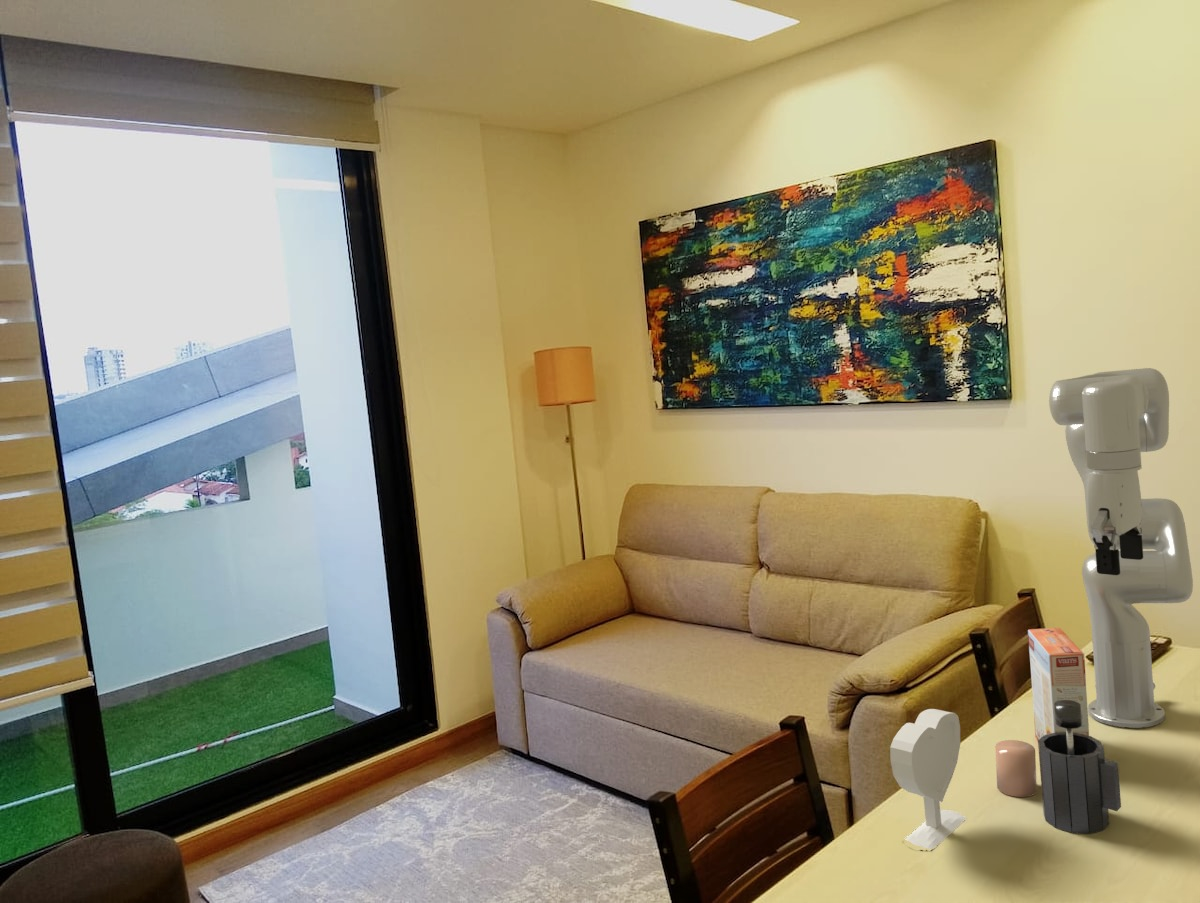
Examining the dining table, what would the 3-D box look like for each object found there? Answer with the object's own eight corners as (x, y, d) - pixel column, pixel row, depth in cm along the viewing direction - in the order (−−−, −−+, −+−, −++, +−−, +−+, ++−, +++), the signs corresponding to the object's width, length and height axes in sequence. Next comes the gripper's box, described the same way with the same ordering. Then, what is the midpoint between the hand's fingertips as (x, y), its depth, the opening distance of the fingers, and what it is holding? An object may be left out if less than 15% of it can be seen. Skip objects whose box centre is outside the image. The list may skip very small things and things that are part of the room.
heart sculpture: (925, 857, 138) (914, 743, 136) (894, 847, 141) (883, 735, 139) (972, 812, 148) (962, 705, 146) (942, 804, 152) (932, 699, 150)
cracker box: (1094, 771, 156) (1085, 652, 154) (1056, 772, 157) (1046, 654, 155) (1069, 735, 169) (1061, 625, 167) (1034, 737, 171) (1025, 627, 168)
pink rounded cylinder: (1002, 776, 158) (1001, 737, 157) (1040, 784, 154) (1039, 744, 153) (992, 791, 153) (990, 751, 152) (1031, 800, 150) (1029, 758, 149)
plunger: (1062, 782, 147) (1055, 694, 145) (1102, 792, 142) (1095, 702, 140) (1045, 797, 143) (1038, 707, 141) (1086, 809, 138) (1079, 715, 137)
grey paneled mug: (1058, 798, 149) (1053, 727, 148) (1131, 818, 141) (1126, 743, 140) (1034, 821, 143) (1028, 748, 142) (1109, 844, 135) (1103, 766, 134)
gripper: (1109, 451, 153) (1115, 551, 155) (1065, 469, 142) (1073, 577, 144) (1159, 451, 148) (1165, 555, 150) (1118, 470, 137) (1125, 582, 139)
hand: (1120, 566), depth 147 cm, fingers open, 9 cm apart
